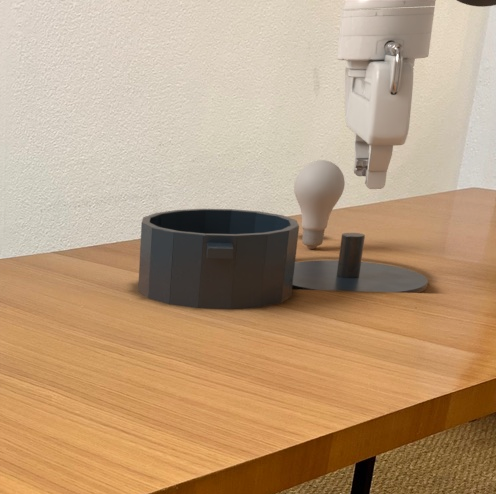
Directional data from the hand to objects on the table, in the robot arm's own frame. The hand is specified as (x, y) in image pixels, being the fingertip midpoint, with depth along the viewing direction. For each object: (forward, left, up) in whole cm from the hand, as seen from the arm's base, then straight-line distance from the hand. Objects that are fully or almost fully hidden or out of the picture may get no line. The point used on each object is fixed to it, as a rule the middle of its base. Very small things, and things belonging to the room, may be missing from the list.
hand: (368, 181), depth 113 cm
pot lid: (+1, 0, -11) cm, 11 cm away
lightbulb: (+3, -21, -11) cm, 24 cm away
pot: (+16, +10, -11) cm, 22 cm away
